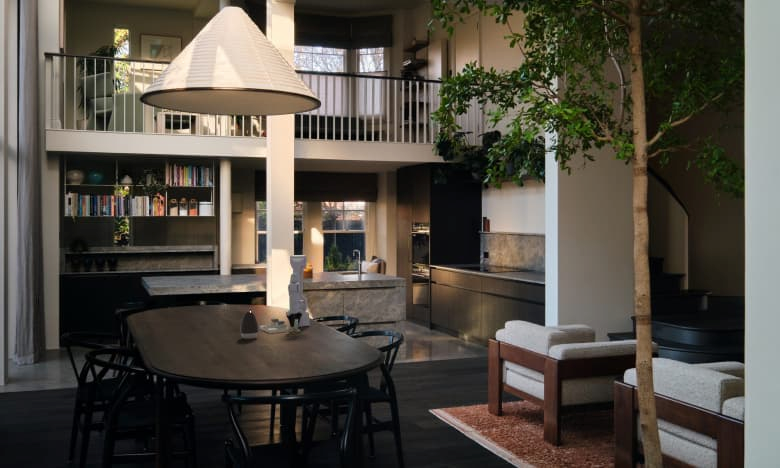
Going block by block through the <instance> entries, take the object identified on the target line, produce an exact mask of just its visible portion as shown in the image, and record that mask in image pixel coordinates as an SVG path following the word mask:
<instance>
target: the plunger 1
mask: <svg viewBox="0 0 780 468" xmlns="http://www.w3.org/2000/svg"><path fill="white" fill-rule="evenodd" d="M271 321H272V322H277V321H280V320H279V318H278V317H277V318H271V319H270V322H271Z"/></svg>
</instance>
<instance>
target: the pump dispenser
mask: <svg viewBox="0 0 780 468" xmlns="http://www.w3.org/2000/svg"><path fill="white" fill-rule="evenodd" d="M256 317H257V316H256V315H255V314H254V312H253V311H247V312H245V313H244V315H243V316H242V319H241V323H240V328H239V329H240V330H239V332H240V334H241V337H242V338H243V339H245V340H254V339H256V338H257V336H258V334H259V332H260V331H259V330H260V328H259V325H258V324H259V323H258V320H257V318H256Z"/></svg>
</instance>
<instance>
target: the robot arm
mask: <svg viewBox="0 0 780 468" xmlns="http://www.w3.org/2000/svg"><path fill="white" fill-rule="evenodd" d="M307 257H308V256H307V255H306V254H301V255H300V254H297V255H296V254H295V255H293V254H292V255H290V256H289V264H290V266H291V269H292V273H291V275H290V277H289V278H290V279H289V283H288V285H287V291H288V300H289V307H288V308H289V309H288V311H285V316H286V319H288V322H289V327H290V328H291V327H294V322H295V319H298V328H299V327H309V326H311V324H310V312H309V311H308V299H307V297H305V296H304V290H303V289H304V287H303V286H304V282H303V281H304V270H306V269H307V264H308V263H307V262H308V261H307V260H308V259H307Z"/></svg>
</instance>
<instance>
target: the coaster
mask: <svg viewBox="0 0 780 468" xmlns="http://www.w3.org/2000/svg"><path fill="white" fill-rule="evenodd" d="M289 332H290V333H297V332H301V330H300V329H299V328H298V329H289Z"/></svg>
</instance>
